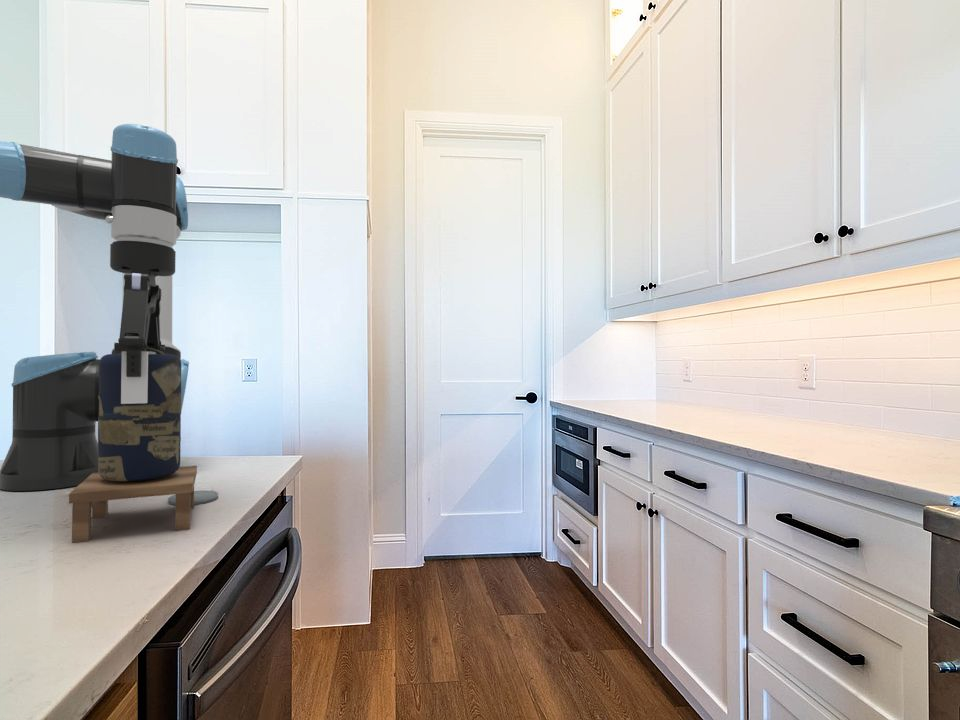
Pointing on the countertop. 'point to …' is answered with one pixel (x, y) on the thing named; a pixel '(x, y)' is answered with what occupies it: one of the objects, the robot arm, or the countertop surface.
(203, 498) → the slate coaster
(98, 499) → the step stool
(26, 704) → the countertop surface
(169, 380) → the canister
